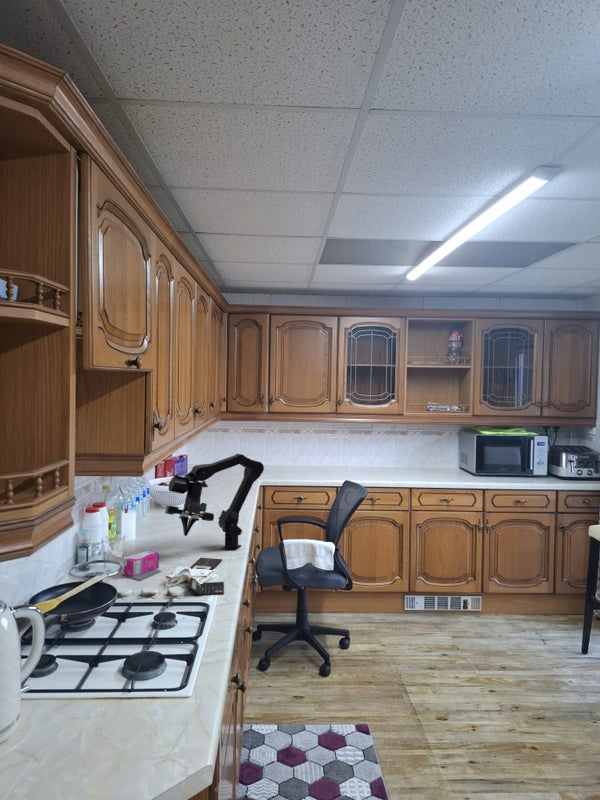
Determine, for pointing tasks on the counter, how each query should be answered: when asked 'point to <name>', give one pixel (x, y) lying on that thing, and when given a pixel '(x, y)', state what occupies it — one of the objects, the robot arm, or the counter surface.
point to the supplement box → (140, 563)
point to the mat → (143, 575)
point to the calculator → (206, 588)
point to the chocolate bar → (206, 563)
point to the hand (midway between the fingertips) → (185, 535)
